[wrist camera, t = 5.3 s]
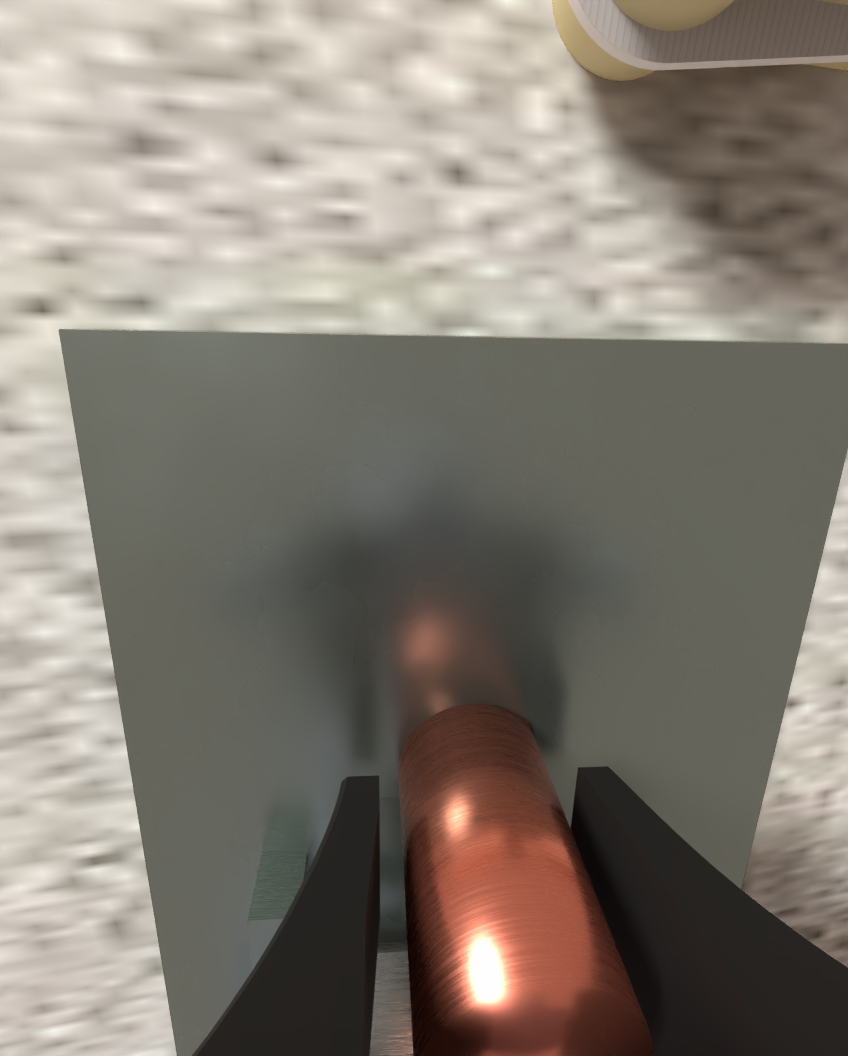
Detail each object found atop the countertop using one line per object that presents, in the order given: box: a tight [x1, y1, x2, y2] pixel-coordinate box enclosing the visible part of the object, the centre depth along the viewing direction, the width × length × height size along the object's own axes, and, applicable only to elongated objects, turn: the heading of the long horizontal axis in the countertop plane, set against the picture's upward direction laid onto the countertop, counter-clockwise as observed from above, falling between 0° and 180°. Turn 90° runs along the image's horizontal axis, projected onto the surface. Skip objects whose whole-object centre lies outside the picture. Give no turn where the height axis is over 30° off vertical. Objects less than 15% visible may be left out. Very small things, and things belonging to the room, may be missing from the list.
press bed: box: [59, 329, 848, 1056], centre depth 12 cm, size 21×14×6 cm, turn 179°
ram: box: [370, 705, 653, 1056], centre depth 11 cm, size 7×6×6 cm
